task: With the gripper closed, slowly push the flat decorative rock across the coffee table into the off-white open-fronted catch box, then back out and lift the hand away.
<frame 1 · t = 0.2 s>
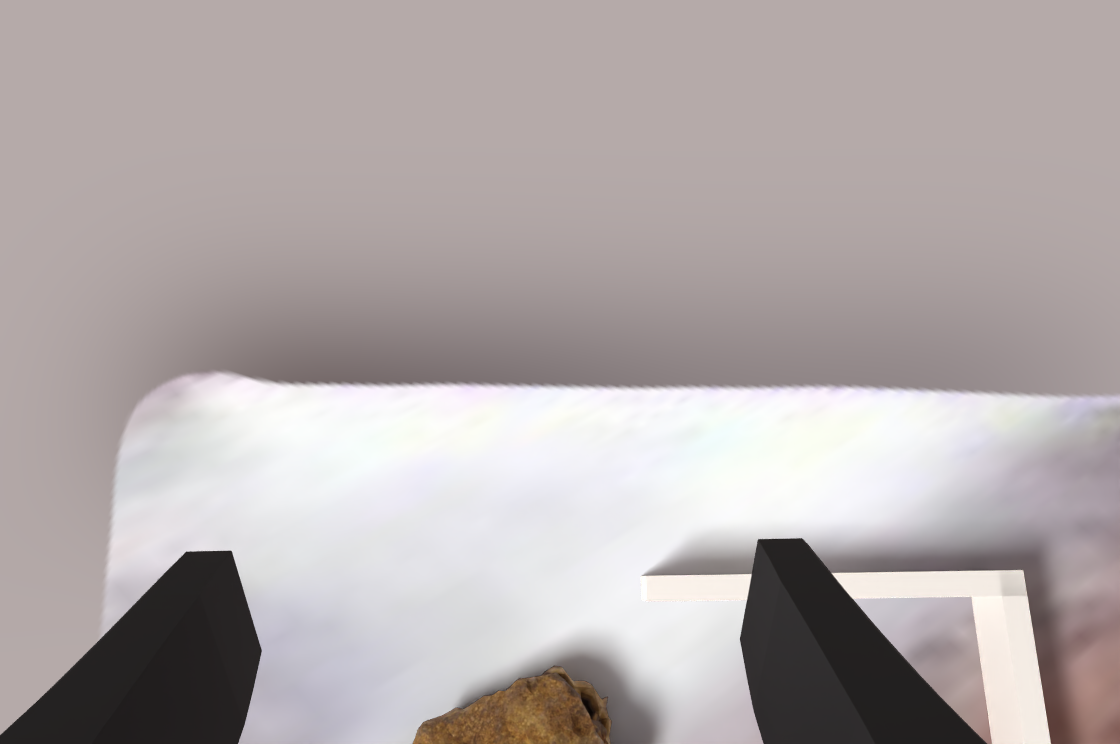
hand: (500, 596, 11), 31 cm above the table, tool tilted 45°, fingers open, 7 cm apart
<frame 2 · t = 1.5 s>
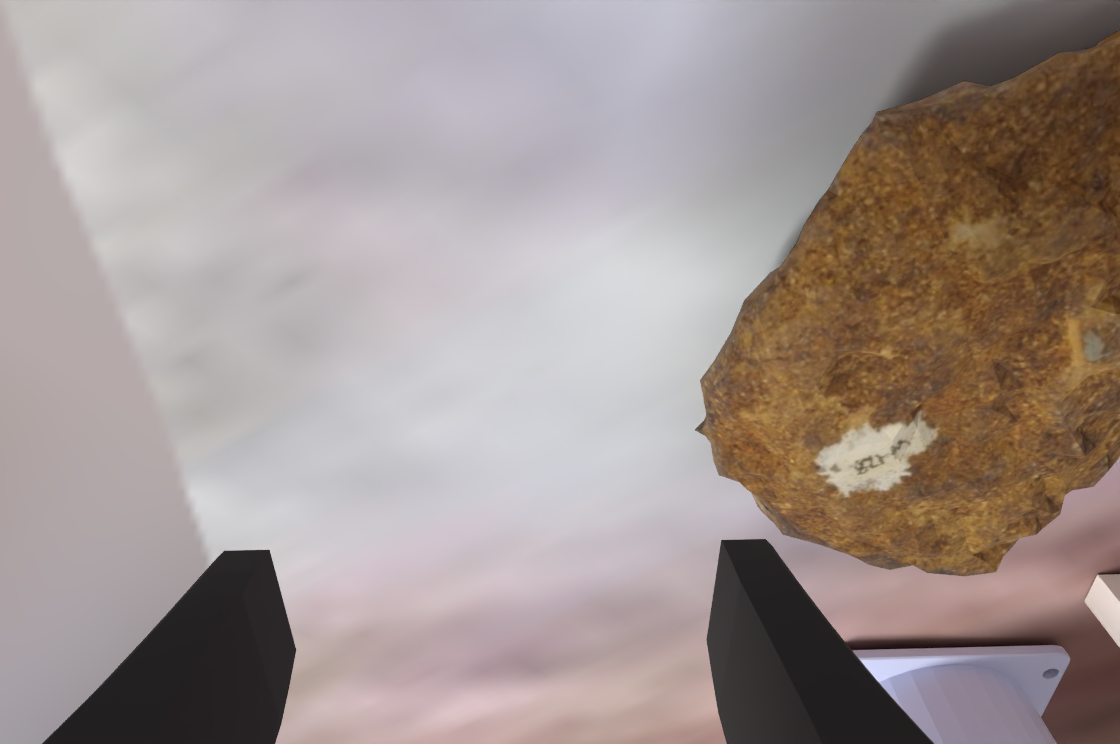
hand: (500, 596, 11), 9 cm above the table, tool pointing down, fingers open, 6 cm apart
decorative rock: (951, 276, 20), on the table
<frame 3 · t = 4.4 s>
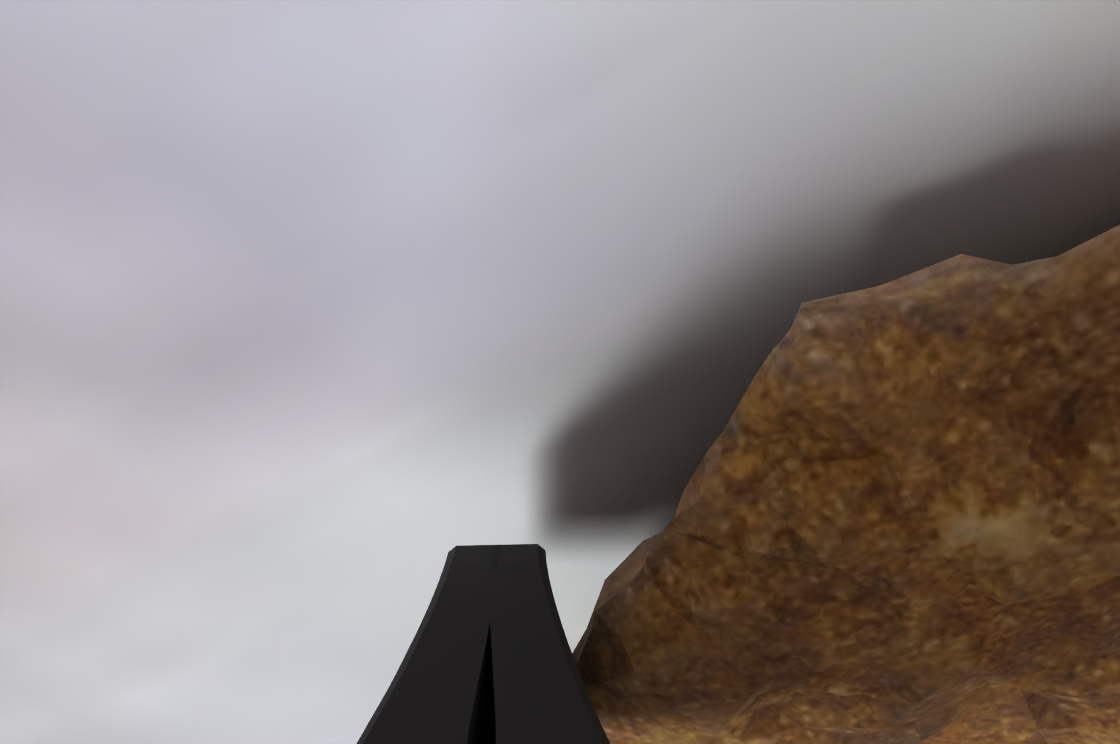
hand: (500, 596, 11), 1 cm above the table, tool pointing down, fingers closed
decorative rock: (952, 488, 13), on the table, touching gripper
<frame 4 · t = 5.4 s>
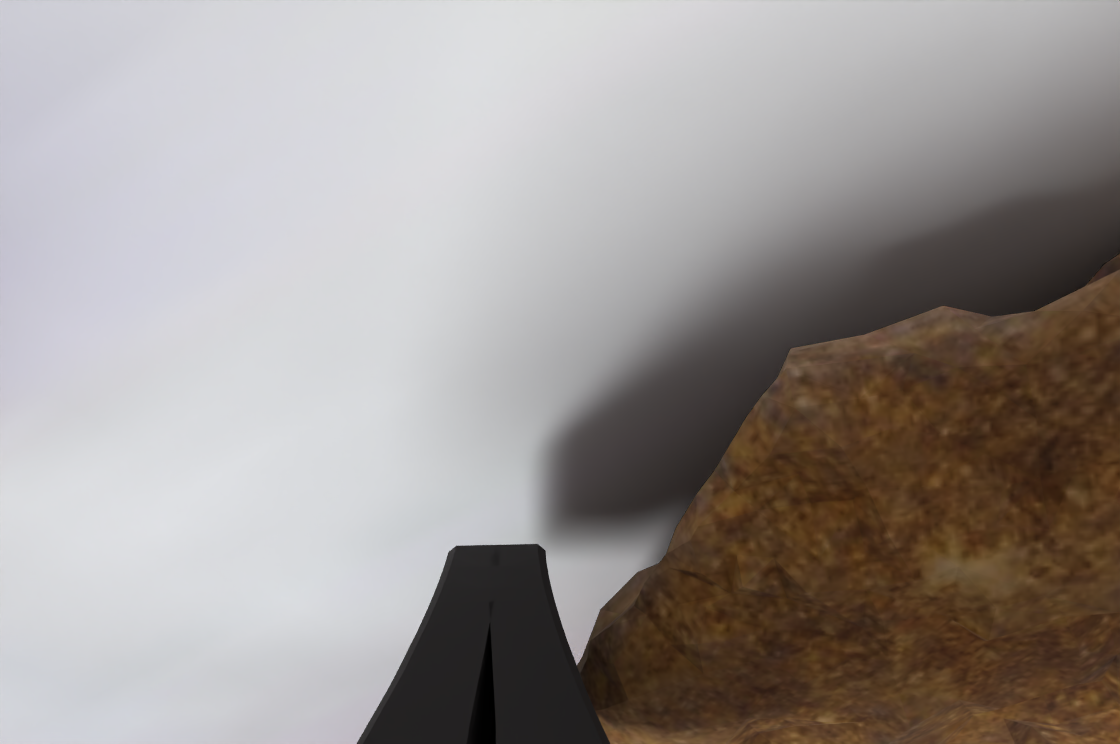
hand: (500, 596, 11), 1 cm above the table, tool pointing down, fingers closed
decorative rock: (939, 515, 13), on the table, touching gripper
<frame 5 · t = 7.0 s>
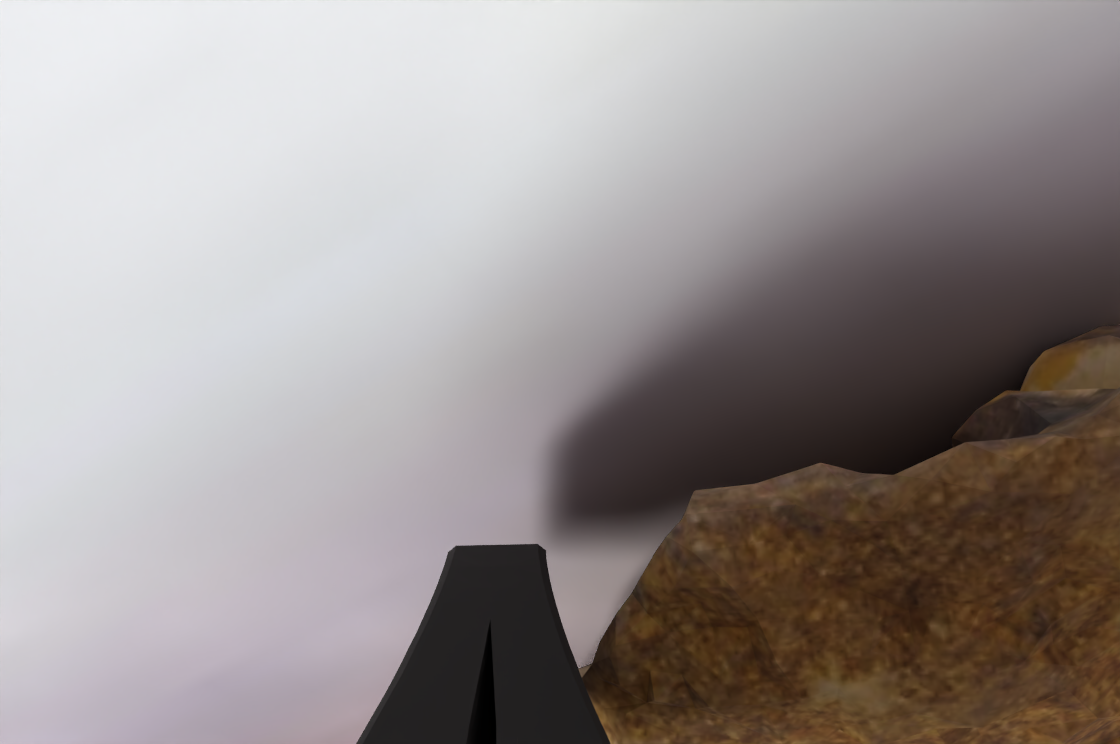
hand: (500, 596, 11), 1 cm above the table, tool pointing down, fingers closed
decorative rock: (862, 601, 14), on the table, touching gripper
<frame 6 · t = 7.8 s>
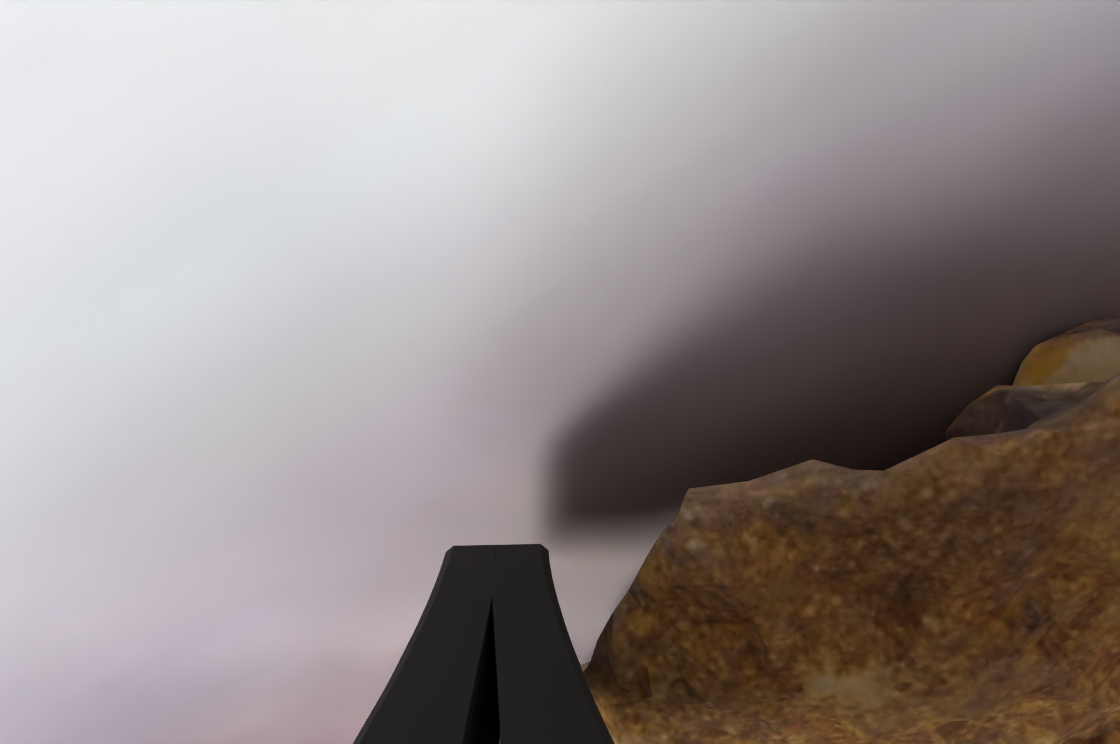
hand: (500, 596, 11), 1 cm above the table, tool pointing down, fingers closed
decorative rock: (861, 596, 14), on the table, touching gripper
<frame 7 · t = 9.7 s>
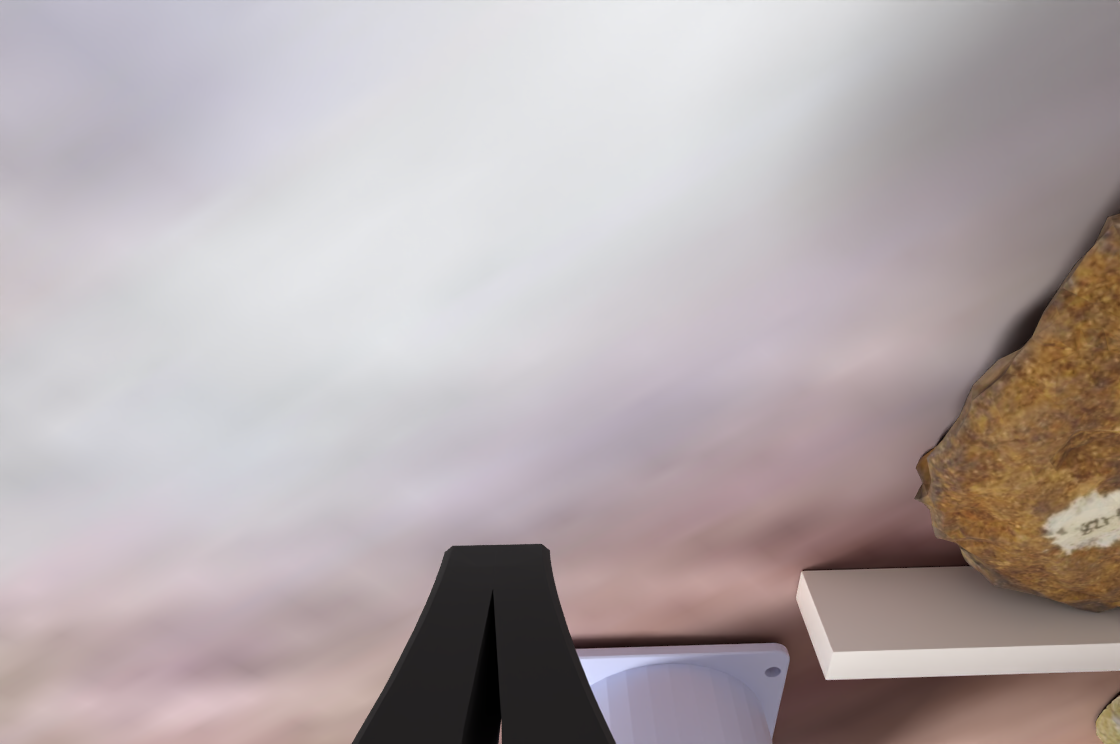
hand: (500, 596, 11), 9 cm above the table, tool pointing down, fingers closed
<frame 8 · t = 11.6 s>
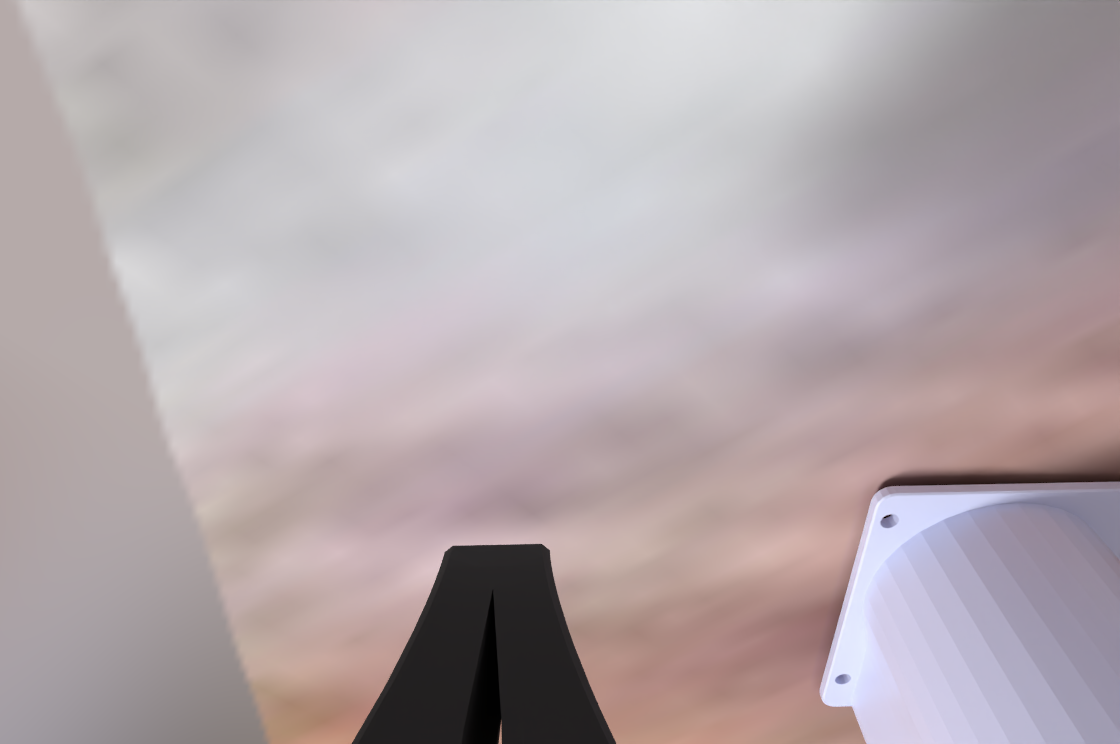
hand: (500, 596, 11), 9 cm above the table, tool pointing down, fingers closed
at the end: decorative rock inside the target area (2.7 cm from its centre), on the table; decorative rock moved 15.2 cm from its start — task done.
